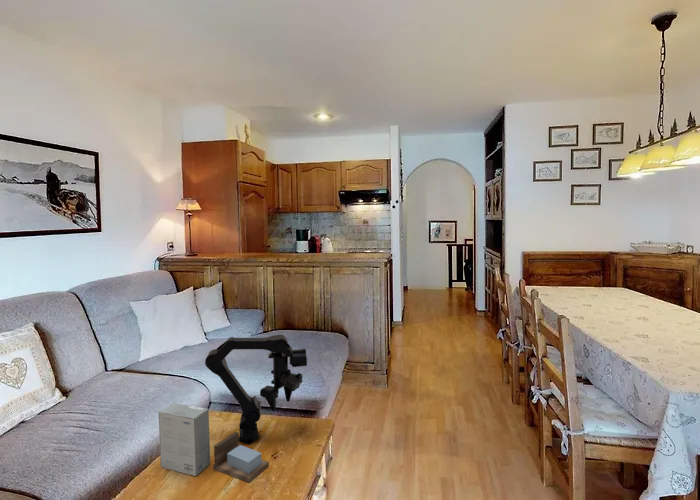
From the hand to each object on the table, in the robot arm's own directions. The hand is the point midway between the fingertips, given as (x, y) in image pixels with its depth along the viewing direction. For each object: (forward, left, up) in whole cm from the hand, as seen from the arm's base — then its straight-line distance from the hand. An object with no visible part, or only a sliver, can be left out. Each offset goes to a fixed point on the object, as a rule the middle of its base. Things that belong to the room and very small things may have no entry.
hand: (281, 406), depth 154 cm
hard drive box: (-18, -31, -12) cm, 38 cm away
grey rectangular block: (+2, -23, -10) cm, 25 cm away
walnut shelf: (0, -23, -12) cm, 26 cm away
